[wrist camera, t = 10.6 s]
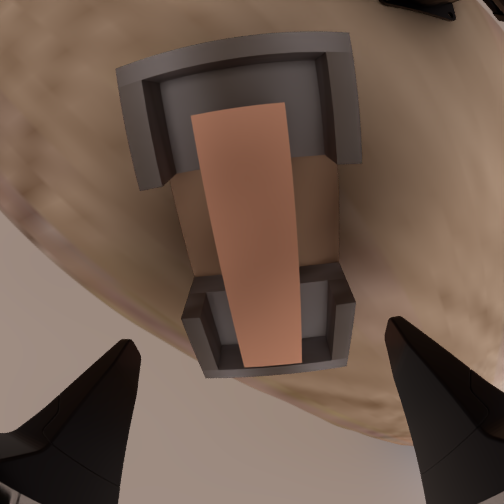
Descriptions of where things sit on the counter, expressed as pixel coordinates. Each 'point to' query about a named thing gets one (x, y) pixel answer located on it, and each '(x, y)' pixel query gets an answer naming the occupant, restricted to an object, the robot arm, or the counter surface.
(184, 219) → the bracket stand
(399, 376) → the robot arm
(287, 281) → the rail
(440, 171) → the counter surface
